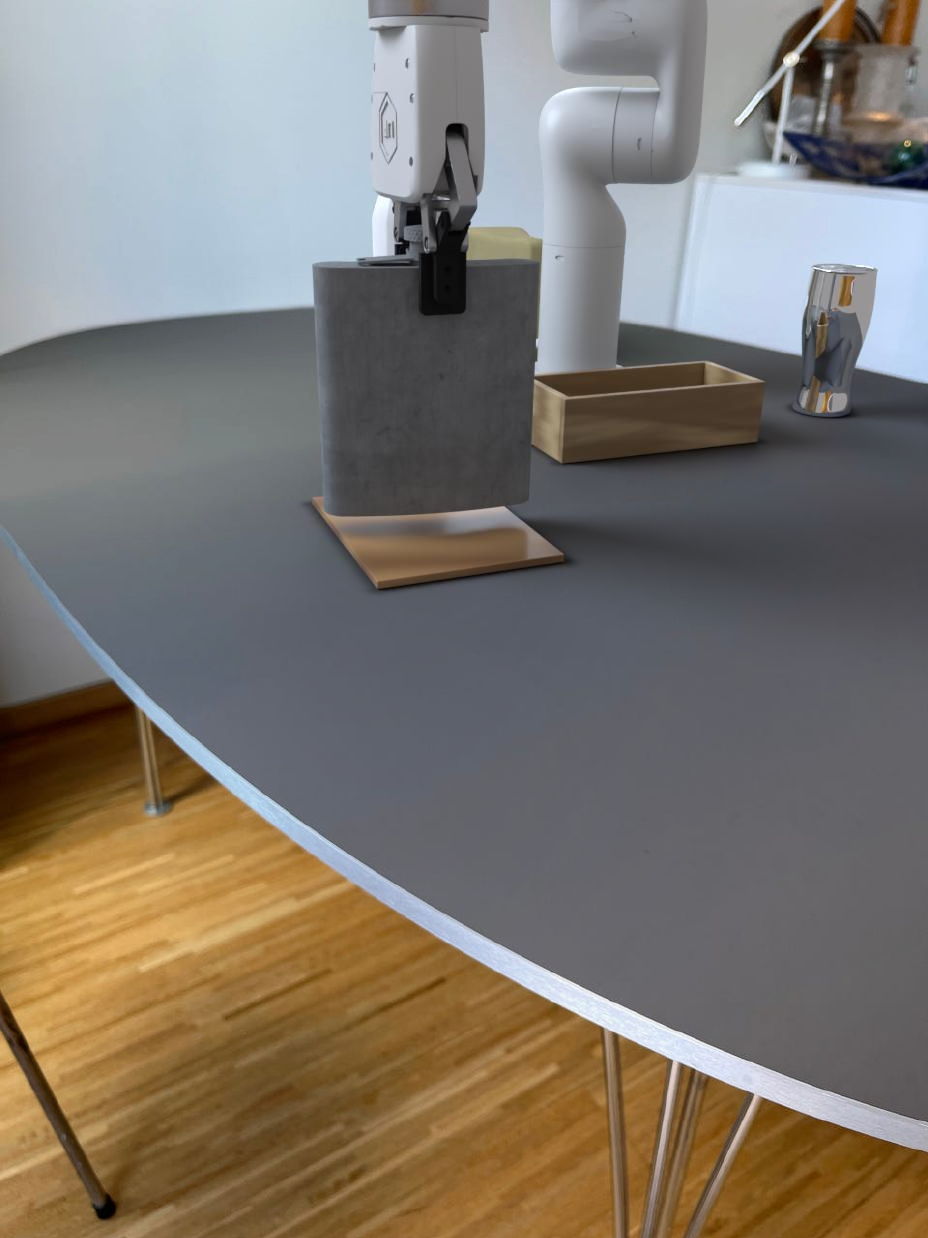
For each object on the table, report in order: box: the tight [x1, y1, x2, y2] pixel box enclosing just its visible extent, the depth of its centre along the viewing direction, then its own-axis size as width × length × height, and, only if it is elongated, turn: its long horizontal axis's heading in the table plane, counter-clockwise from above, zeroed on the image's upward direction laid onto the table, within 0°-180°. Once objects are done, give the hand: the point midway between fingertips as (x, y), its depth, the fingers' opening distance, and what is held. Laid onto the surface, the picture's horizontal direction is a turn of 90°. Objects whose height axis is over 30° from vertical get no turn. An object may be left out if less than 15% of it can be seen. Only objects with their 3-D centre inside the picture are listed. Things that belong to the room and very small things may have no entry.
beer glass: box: [792, 263, 879, 418], centre depth 110 cm, size 7×7×15 cm
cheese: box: [466, 226, 543, 362], centre depth 139 cm, size 22×10×15 cm, turn 14°
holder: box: [531, 360, 767, 464], centre depth 101 cm, size 10×22×6 cm, turn 111°
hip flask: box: [311, 225, 540, 517], centre depth 74 cm, size 16×4×20 cm, turn 104°
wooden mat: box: [311, 495, 565, 590], centre depth 79 cm, size 18×14×1 cm
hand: (429, 304), depth 72 cm, fingers closed on hip flask, 4 cm apart
